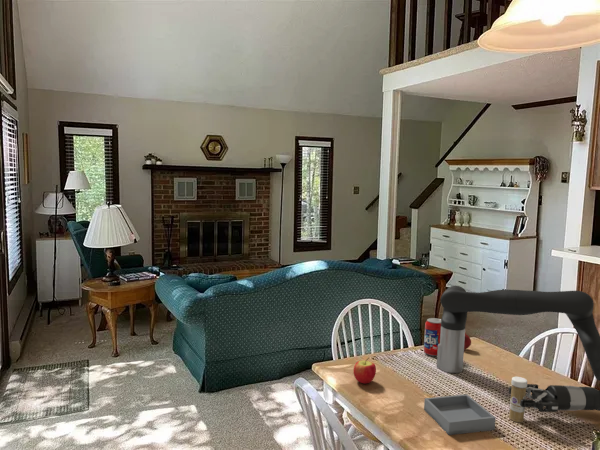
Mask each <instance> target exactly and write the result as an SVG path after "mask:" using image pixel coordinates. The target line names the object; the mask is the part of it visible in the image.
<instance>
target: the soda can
mask: <svg viewBox="0 0 600 450" xmlns="http://www.w3.org/2000/svg"><path fill="white" fill-rule="evenodd" d="M441 319H442V318H436V317H430V318H427V319H426V321H425V322H424V323H425V325H424V340H423V352H424V353H425V354H426V355H428V356H430V357H437V351H438V344H440V334H441Z"/></svg>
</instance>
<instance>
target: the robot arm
mask: <svg viewBox="0 0 600 450" xmlns="http://www.w3.org/2000/svg"><path fill="white" fill-rule="evenodd" d="M440 305H441V306H442V308H443V311H442V316H441V318H440V319H441V334H440V344H438V351H437V356H436V368H437V369H440V370H441V371H443V372H446V373H450V374H451V373H452V374H459V373H462V371H463V369H464V355H465V350H464V341H465V332H466V325H467V318H468V313H470V312H471V313H472V312H473V313H474V312H475V313H476V312H477V313H488V314H489V313H490V314H499V315H509V316H527V315H529V316H531V315H534V314H535V315H536V314H541V313H559V314H565V315H566V316H567V318H568V319H569V321H570V323H571V325H572V326H573V327H574V330H575V331H576V334H577V335H578V338H579V339H580V342H581V345H582V347H583V349H584V353H585V355H586V359H587V360H588V363H589V365H590V368H591V370H592V373H593V376H594V378H595V379H596V380H597V381H599V382H600V333H599V331H598V328H597V325H596V322H595V318H594V305H595V302H594V300H593V298H592V297H591V295H590V294H588V293H587V292H584V291H582V290H561V291H539V290H523V289H495V290H488V291H481V292H471V291H467V290H465V288H463V287H462V286H459V285H451V286H450V287H448V288H447V289H446V290H445V291H443V293H442V295H441V297H440ZM511 389H512V386H509V388H508V394H510V395H511ZM526 398H528V399H522V400H521V401H520V405H521V407H525V408H533V409H534V410H537V411H538V412H541V413H545V412H546V413H552V412H553V413H556V412H559V411H574V412H575V411H599V412H600V389H597V388H595V387H592V386H574V385H553V384H552V385H551V384H550V385H547V387H546V388H545V389H543V388H540V387H539V385H538V384H536V383H535V384H533V383H527V388H526ZM544 407H545V408H544Z"/></svg>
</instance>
